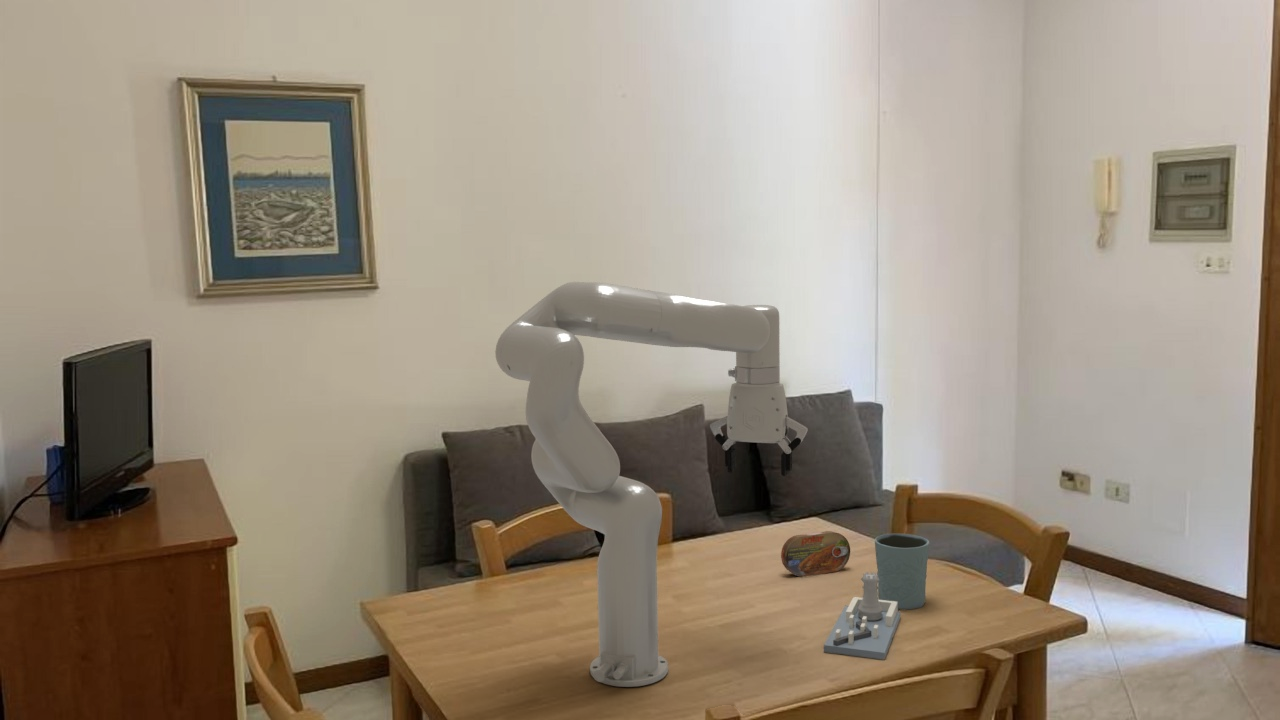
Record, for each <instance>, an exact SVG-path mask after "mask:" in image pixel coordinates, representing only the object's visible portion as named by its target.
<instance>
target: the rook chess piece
mask: <svg viewBox="0 0 1280 720" xmlns="http://www.w3.org/2000/svg"><path fill="white" fill-rule="evenodd" d="M860 580H861V582H862V583H863V585H862V589H863V590H862V591H863V593H862V598H863V599H862V602H861V605H860V606H859V607H858V610H859V612H858V616H859V617H860V618H861V619H862V618H863V616H867V621H878V620H880V619H881V618H882V616H883V615H882V613H881V612H882V611H883V610H882V608H881V606H880V603H879V601H878V600H879V596H878V582H879V581H880V579H879V578H878V575H877V572H875V573H874V571H873V572H872V571H870V572H869V571H866V572H863V573H862V577H861V579H860Z"/></svg>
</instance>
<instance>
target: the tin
mask: <svg viewBox="0 0 1280 720" xmlns="http://www.w3.org/2000/svg"><path fill="white" fill-rule="evenodd" d="M850 557H851V545H850V542H849V541H848V539H847V538H846V537H845V536H844V535H843V534H841V533H839V532H835V531H832V530H826V531H821V532H820V531H819V532H818V531H817V532H812V533H804V534H796V535H794V536H793V535H792V536H791V537H789V538H788V539H787V540H786V541H785V542H784V544H783V545H782V548H781V553H780V558H781V562H782V566H783V567H784V569H786V571H788V572H789V573H790V574H792V575H794V576H796V577H801V578H802V577H807V576H808V577H809V576H816V575H823V574H824V575H825V574H830V573H831V574H832V573H836V572H839V571H841V570H842V569H843V568H844V567H845V566H846V565H847V564H848V562H849V560H850Z"/></svg>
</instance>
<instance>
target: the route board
mask: <svg viewBox="0 0 1280 720" xmlns="http://www.w3.org/2000/svg"><path fill="white" fill-rule="evenodd" d="M862 599H863V597H858V596H853V597H852V599H851V601H850V602H849V605H844V607H843V609H842V611H841V612H840V614H839V616H838V618H837V620H836V621H835V624H834V626H833V627H832V630H831V631H830V633H829V635H828V637H827V638H826V641H825V643H824V645H823V653H830V654H836V655H845V656H850V657H851V656H852V657H861V658H869V659H874V660H875V659H877V660H882V661H883V660H884V661H885V659H886V657H887V654H888V652H889V649H890V646H891V644H892V642H893V639H894V636H895V633H896V631H897V628H898V625H899V622H900V619H901V611H900V610H899V609H898V602H896V601H887V600H879V599H878V601H879V603H880V606H881V608H882V610H883V611H882V612H881V613H882V615H883V616H882V618H881V619H880V620H878V621H867V616H863V618H862V619H861V618H860V617H859V616H858V612H859V610H858V607H859V606H860V605H861V602H862ZM898 610H899V611H898Z"/></svg>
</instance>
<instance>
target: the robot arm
mask: <svg viewBox="0 0 1280 720" xmlns="http://www.w3.org/2000/svg"><path fill="white" fill-rule="evenodd" d="M577 336H580V337H591V338H597V339H603V340H605V339H606V340H611V341H621V342H630V343H636V344H645V345H651V346H662V347H668V348H669V347H670V348H699V349H708V350H711V351H712V350H713V351H721V352H732V353H733V352H734V353H735V365H736V366H734V368H729V369H728V370H727V371H728V373H727V375H728V377H732V378H734V381H735V382H734V383H731V385H730V389H729V390H730V391H729V397H728V405H727V415H726V416H724V417H722V418H720V419H718V420H715V421H713V422H712V423H710V424H709V428H710V430H711V432H712V434H713V435H714V439H715V441H717V443H718V444H719V445H720V446H721V447H722V449H723V451H724V466H725V467H726V468H727V473H730V474H731V473H733V472H735V470H736V469H737V448H736V447H735V444H736V443H737V442H739V443H740V442H741V443H758V444H760V443H761V444H777V445H778V446H779V447H780V448H781V449H782V453H781V455H780V461H781V462H780V467H781V468H780V473H781V475H780V476H782V477H787V475H789V473H790V471H792V470H793V451H794V450H795V449H796V448H797V447H799V446H800V444H801V443H803V441H804V438H805V437H806V435H807V432H809V431H808V430H809V428H808V427H807V426H805V425H803V424H802V423H800V422H798V421H796V420H795V419H792V418H791V417H789V415H788V414H789V413H788V407H787V397H786V391H785V387H784V383H781V380H780V379H781V377H780V367H781V365H780V363H781V362H780V355H781V353H780V311H779V309H778V308H777V307H776V306H775V305H774V306H773V305H770V304H747V305H737V304H731V303H725V302H718V301H713V300H705V299H701V298H699V299H698V298H694V297H690V296H685V295H681V294H680V295H679V294H675V293H674V294H673V293H669V292H668V293H667V292H662V291H654V290H649V289H645V288H644V289H643V288H638V287H630V286H625V285H618V284H613V283H608V282H607V283H606V282H598V281H597V282H595V281H594V282H590V281H588V282H587V281H570V282H566V283H564V284H562V285H560V286H558V287H557V288H555V289H554V290H552V291H550V293H548V294H547V295H545V296H544V297H543V298H541V300H539V301H538V302H537V303H536V304H534V305H533V306H532V307H530V308H529V309H528V310H527V311H526V312H524V313H523V314H522V315H521V316H519V317H518V318H517V319H516V320H514V321H513V322H512V323H511V324H510V325H509V326H508V327H506V328H505V329H504V330H503V332H502V333H501V334H500V336H499V338H498V339H497V341H496V342H497V343H496V347H495V351H494V352H495V359H496V362H497V366H499V368H500V369H501V371H502V372H503V373H504V374H505V375H507V376H508V377H511V378H512V379H516V380H520V381H526V382H529V385H528V388H527V393H526V402H525V419H526V422H527V423H526V424H527V426H528V429H529V431H530V432H531V434H532V435H533V437H534V439H535V440H534V442H533V444H532V447H531V455H530V457H531V464H532V468H533V470H534V473H535V475H536V476H537V478H538V479H539V480H540V482H541V484H542V485H544V487H545V488H546V489H547V490H548V492H549V493H550V494H551V495H552V497H553V498H554V499H555V500H556V501H557V502H558V504H559V505H560V507H562V508H563V510H564V511H565V512H566V513H567V514H568V515H569V516H570V517H571V519H573V520H574V522H577V524H580V525H581V526H583V527H586V528H588V529H591V530H593V531H597V532H599V533H600V534H603V535H604V541H603V543H602V547H601V549H600V552H599V554H598V558H597V565H596V566H597V571H596V572H597V573H596V577H597V578H596V579H597V602H598V603H597V607H598V608H597V609H598V613H597V614H598V649H599V654H598V656H597V657H595V658H594V659H593V660H592V661H591V663H590V664H589V665H590V666H589V672H590V676H592V678H593V679H594V680H595V681H596V682H598V683H601V684H604V685H607V686H612V687H619V688H633V687H634V688H636V687H643V686H649V685H651V684H655V683H656V682H658V681H661V680H662V679H664V677H666V675H667V674H668V672H669V664H668V661H667V659H666V658H665V657H663V656H662V655H660V654H659V633H658V632H659V631H658V630H659V629H658V628H659V626H658V625H659V623H658V571H657V570H658V567H657V566H658V565H657V564H658V563H657V562H658V561H657V560H658V559H657V557H658V542H659V535H660V530H661V529H660V528H661V525H662V520H663V519H662V517H663V507H662V502H661V500H660V497H659V496H658V494H657V493H656V492H655V490H654V489H652V488H651V487H650V486H649V485H647V484H645V483H643V482H642V481H640V480H635V479H632V478H629V477H625V476H621V475H620V474H621V473H620V472H621V463H620V462H621V461H620V459H619V456H618V453H617V452H616V449H614V447H613V446H612V444H611V443H610V442H609V440H608V439H607V438H606V437H605V435H604V434H603V433H602V432H601V430H600V429H599V427H598V426H597V425H596V424H595V422H594V421H593V419H592V418H591V417H590V415H589V414H588V413H587V412H586V410H585V408H584V407H583V404H582V403H581V400H580V394H579V393H580V391H579V387H580V382H581V378H582V377H581V376H582V374H583V372H584V371H583V370H584V364H585V355H584V354H585V353H584V349H583V346H582V343H581V342H580V340H579V339H578V337H577ZM723 426H726V434H727V436H726V435H725V434H724V432H722V429H721V428H722V427H723ZM789 428H790V429H791V430H793V431H795V432H796V435H795V437H794V439H793V440H792V441H791V440H790V439H789V438H788V434H789Z"/></svg>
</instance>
